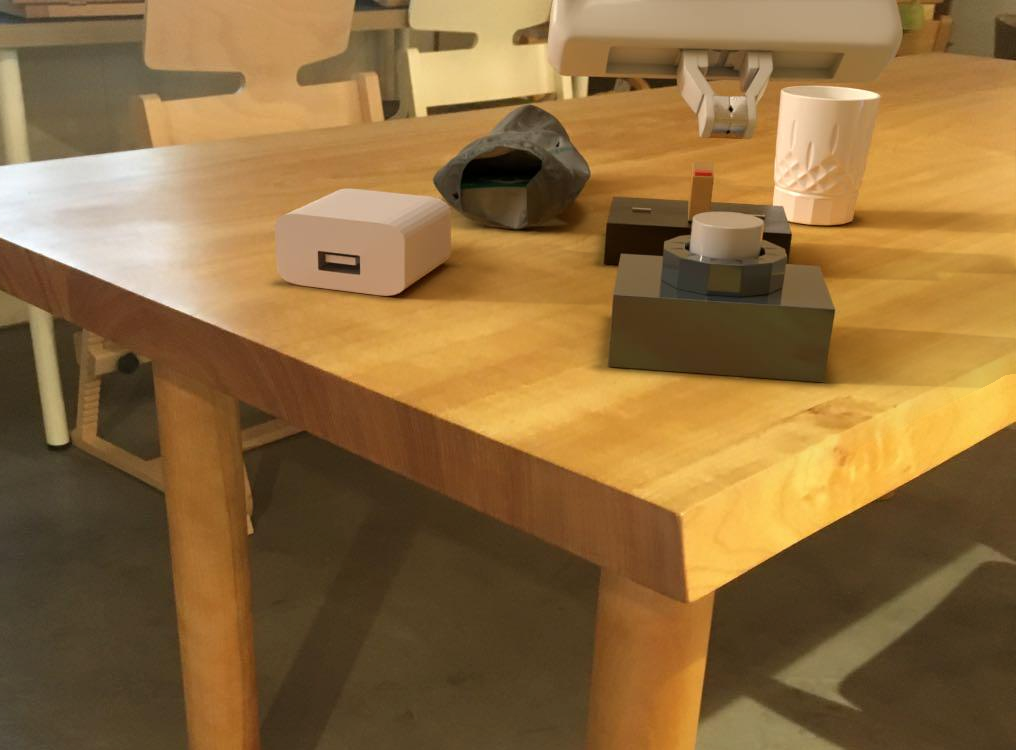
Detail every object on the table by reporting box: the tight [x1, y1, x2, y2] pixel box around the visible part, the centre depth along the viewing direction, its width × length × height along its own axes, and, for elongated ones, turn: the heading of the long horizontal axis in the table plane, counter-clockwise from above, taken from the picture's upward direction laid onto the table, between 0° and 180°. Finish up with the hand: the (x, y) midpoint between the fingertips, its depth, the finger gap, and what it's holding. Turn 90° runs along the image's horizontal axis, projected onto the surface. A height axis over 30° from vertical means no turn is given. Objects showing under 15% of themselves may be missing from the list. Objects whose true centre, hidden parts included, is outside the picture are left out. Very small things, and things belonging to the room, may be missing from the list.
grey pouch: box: [432, 103, 592, 230], centre depth 107 cm, size 13×7×25 cm
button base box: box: [607, 235, 836, 383], centre depth 72 cm, size 12×9×6 cm
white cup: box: [772, 85, 882, 226], centre depth 103 cm, size 8×8×10 cm
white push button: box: [689, 212, 764, 260], centre depth 71 cm, size 4×4×2 cm
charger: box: [274, 188, 452, 297], centre depth 88 cm, size 5×9×15 cm
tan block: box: [687, 161, 715, 221], centre depth 91 cm, size 6×2×3 cm, turn 171°
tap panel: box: [603, 196, 793, 266], centre depth 93 cm, size 13×10×3 cm
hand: (728, 132), depth 70 cm, fingers closed
